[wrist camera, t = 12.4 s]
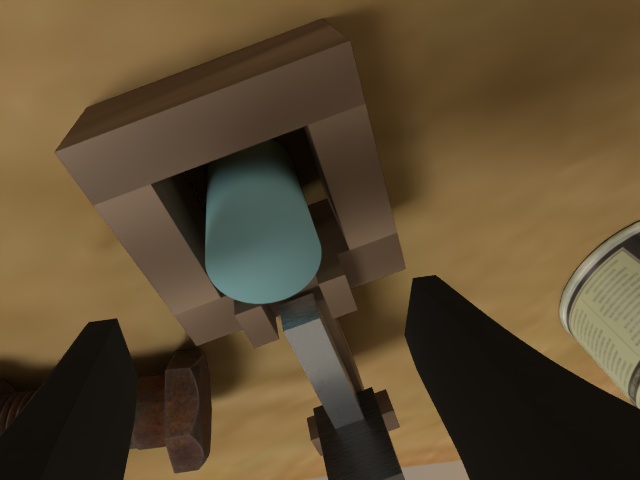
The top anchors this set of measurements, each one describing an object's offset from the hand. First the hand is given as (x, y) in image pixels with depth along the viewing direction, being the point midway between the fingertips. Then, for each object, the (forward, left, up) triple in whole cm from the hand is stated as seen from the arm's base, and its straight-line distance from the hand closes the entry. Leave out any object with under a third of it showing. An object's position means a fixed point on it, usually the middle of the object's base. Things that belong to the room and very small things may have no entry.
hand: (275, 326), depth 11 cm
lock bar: (+8, 0, -5) cm, 9 cm away
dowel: (0, 0, -9) cm, 9 cm away
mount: (+5, 0, -9) cm, 10 cm away
